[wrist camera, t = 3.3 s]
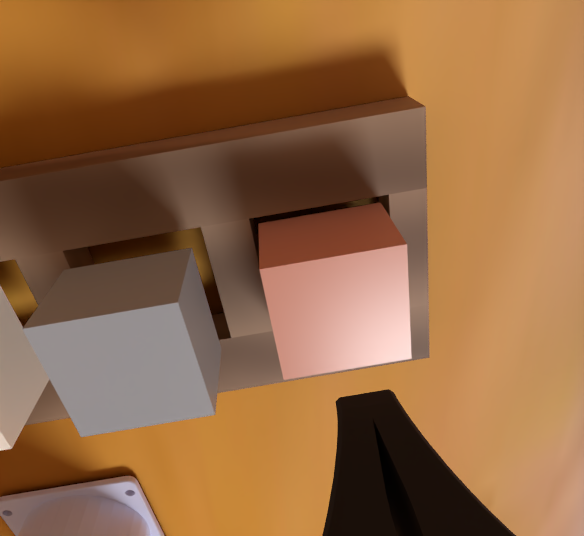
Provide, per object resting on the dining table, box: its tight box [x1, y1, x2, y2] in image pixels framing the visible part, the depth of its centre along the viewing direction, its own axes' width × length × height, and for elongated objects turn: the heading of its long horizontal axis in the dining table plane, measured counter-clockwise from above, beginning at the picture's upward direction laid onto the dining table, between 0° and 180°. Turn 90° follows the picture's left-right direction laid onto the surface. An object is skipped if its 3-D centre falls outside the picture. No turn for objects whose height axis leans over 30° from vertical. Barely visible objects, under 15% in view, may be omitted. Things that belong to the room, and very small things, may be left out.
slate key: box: [22, 248, 221, 437], centre depth 16 cm, size 5×5×4 cm
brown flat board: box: [0, 96, 429, 425], centre depth 20 cm, size 11×22×2 cm, turn 99°
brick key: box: [258, 202, 412, 380], centre depth 17 cm, size 5×5×4 cm
